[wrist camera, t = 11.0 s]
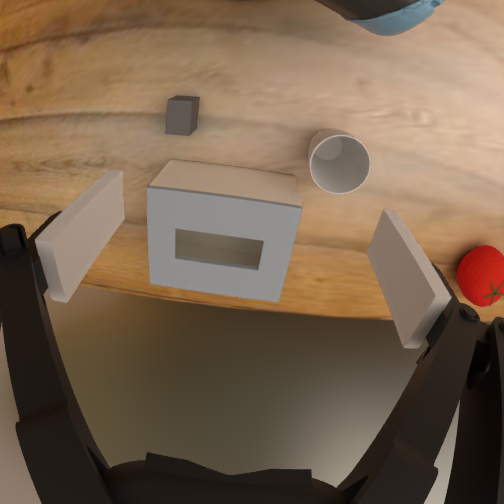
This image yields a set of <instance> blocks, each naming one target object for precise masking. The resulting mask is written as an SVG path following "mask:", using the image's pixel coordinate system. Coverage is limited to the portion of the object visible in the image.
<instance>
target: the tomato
mask: <svg viewBox="0 0 504 504" xmlns="http://www.w3.org/2000/svg"><path fill="white" fill-rule="evenodd" d="M457 281H458V284H459V287H460V289H461V291H462V293H463V294H464V296H465V297H466V298H467V299H468V300H469V301H470V302H471V303H473V304H475V305H477V306H480V307H484V306H489V305H491V304H493V303H494V302H496V301H497V300H498V299H499V298H500V297H501V296H502V295H504V257H503V255H502V253H501V252H500V251H498V250H497V249H496V248H494V247H492V246H487V245H484V246H480V247H478V248H476V249H474V250H472V251H471V252H469V253H468V254H467V255H466V256H465V257H464V258H463V259H462V261H461V262H460V264H459V267H458V270H457Z"/></svg>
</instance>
